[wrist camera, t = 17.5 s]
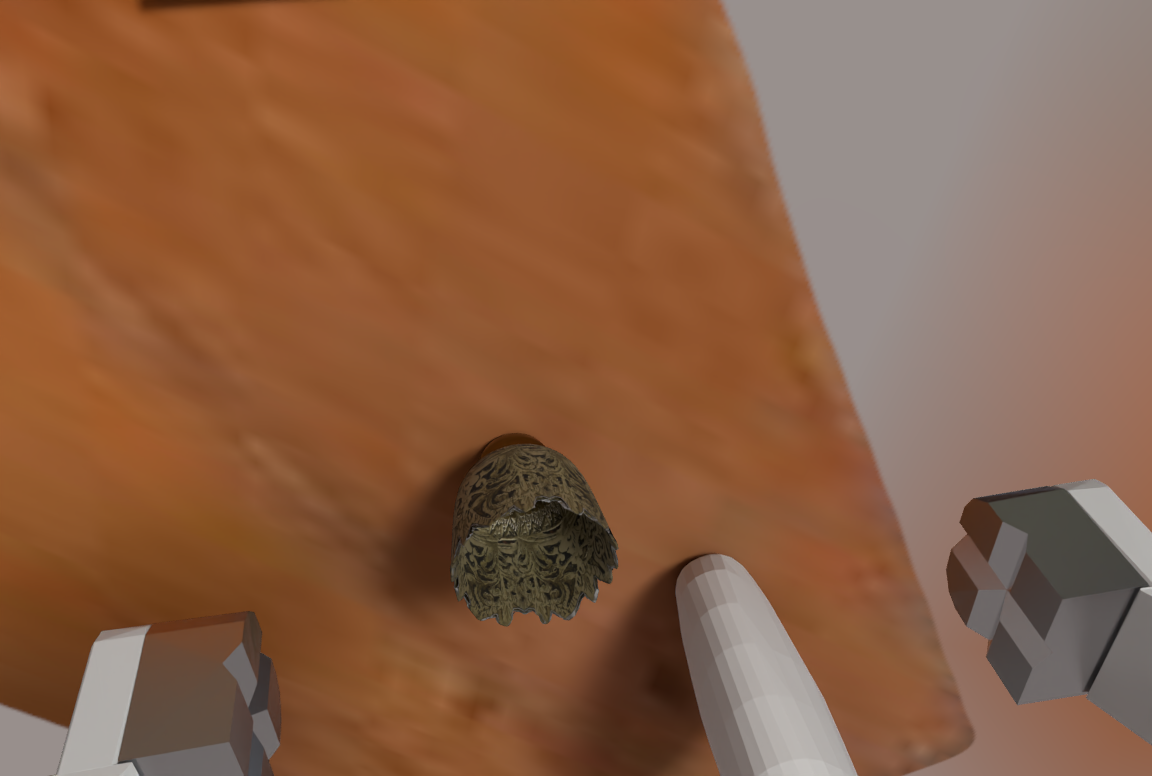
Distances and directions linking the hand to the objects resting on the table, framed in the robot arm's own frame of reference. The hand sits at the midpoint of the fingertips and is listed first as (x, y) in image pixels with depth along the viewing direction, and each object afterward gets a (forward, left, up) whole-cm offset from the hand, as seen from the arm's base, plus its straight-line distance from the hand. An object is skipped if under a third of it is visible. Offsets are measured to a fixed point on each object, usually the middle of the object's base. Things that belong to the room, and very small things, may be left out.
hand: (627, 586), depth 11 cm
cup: (+1, -23, -29) cm, 37 cm away
